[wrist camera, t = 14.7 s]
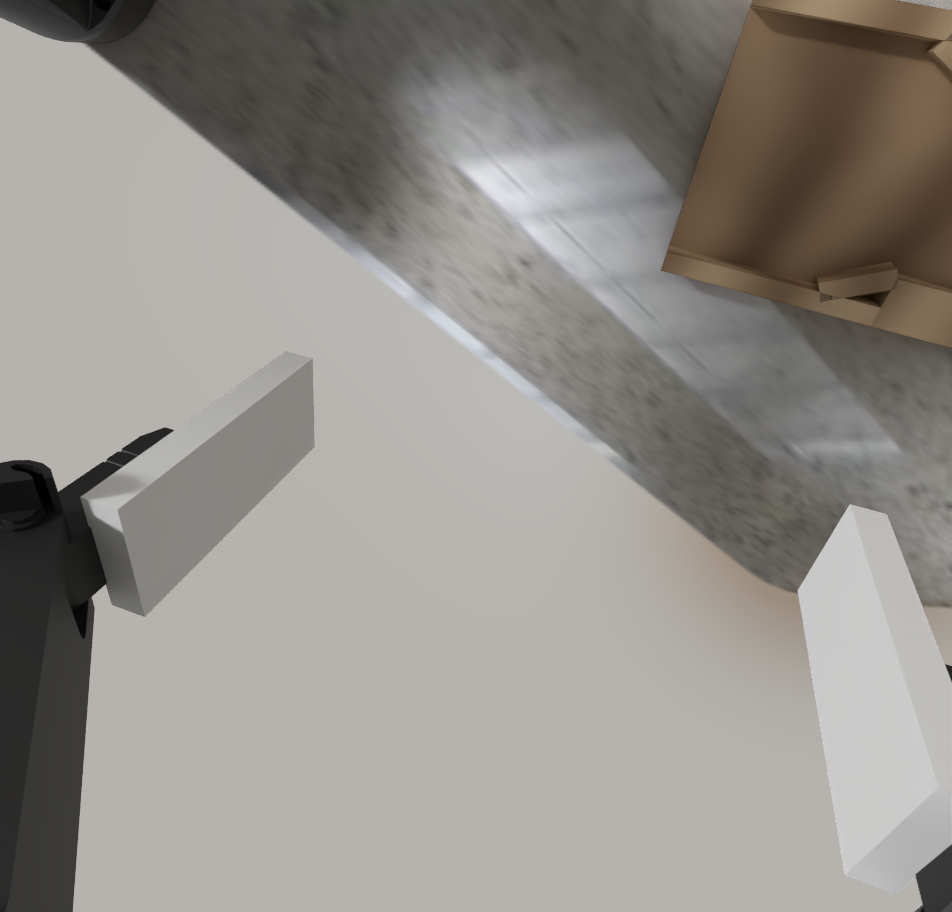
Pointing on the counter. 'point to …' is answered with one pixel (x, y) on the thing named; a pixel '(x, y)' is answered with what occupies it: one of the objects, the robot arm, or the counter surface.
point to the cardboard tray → (831, 166)
